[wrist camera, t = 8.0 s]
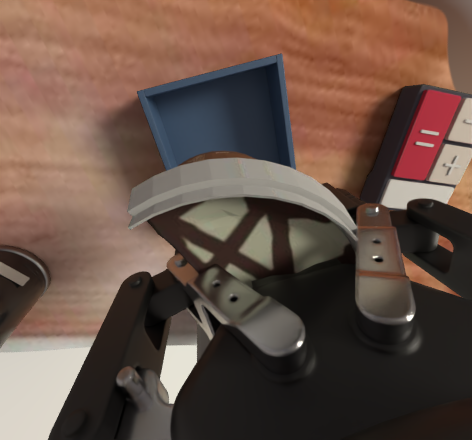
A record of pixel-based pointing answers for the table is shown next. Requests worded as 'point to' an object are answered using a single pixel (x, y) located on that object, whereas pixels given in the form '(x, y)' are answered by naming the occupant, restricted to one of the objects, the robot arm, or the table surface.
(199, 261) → the food container
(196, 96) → the tote
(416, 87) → the calculator
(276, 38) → the table surface
